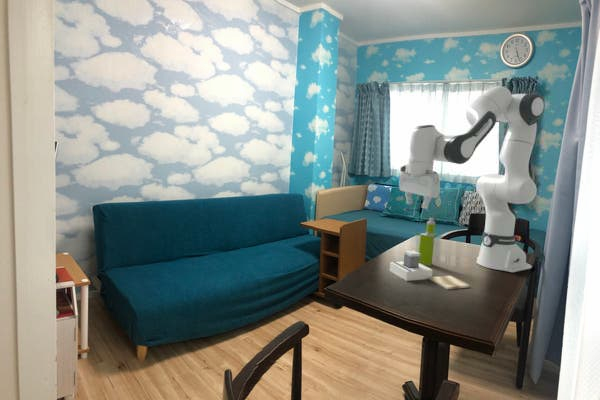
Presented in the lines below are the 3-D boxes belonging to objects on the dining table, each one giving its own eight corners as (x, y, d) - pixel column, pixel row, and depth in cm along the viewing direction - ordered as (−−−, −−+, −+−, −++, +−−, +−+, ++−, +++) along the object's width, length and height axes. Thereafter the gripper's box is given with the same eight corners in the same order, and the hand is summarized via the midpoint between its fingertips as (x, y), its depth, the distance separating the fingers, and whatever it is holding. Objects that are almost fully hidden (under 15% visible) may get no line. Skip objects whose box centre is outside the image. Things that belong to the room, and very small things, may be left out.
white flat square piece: (413, 269, 154) (414, 259, 153) (431, 278, 143) (432, 269, 143) (389, 270, 150) (390, 261, 149) (406, 280, 140) (407, 270, 139)
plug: (411, 272, 149) (413, 250, 148) (417, 276, 145) (420, 253, 144) (402, 273, 148) (404, 250, 147) (408, 277, 144) (410, 254, 143)
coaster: (450, 277, 146) (450, 275, 145) (469, 287, 136) (469, 285, 136) (428, 279, 142) (428, 277, 142) (446, 289, 133) (447, 287, 133)
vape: (429, 266, 158) (434, 219, 155) (416, 262, 162) (420, 216, 159) (433, 264, 161) (438, 218, 158) (419, 260, 165) (424, 215, 162)
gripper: (446, 171, 132) (442, 211, 134) (411, 167, 151) (408, 201, 153) (431, 171, 130) (427, 211, 132) (397, 167, 149) (394, 201, 151)
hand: (416, 206), depth 143 cm, fingers open, 8 cm apart
